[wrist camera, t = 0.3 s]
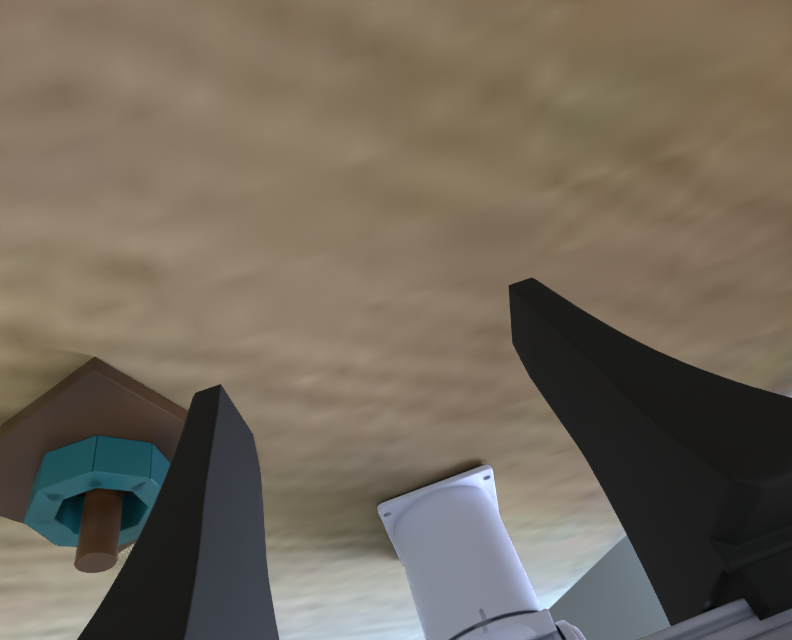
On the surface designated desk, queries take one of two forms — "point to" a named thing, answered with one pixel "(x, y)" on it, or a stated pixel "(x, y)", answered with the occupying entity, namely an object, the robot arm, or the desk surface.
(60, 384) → the ring toss
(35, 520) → the ring
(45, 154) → the desk surface
